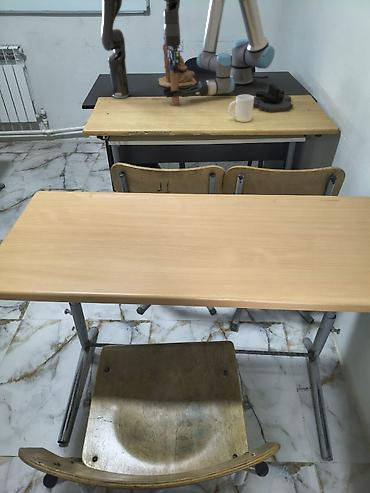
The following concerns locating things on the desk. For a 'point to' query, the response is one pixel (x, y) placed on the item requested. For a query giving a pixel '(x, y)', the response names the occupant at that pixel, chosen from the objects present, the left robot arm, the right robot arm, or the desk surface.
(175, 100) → the brown cylindrical tube
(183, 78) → the sculpture
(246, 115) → the mug
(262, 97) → the abstract sculpture
